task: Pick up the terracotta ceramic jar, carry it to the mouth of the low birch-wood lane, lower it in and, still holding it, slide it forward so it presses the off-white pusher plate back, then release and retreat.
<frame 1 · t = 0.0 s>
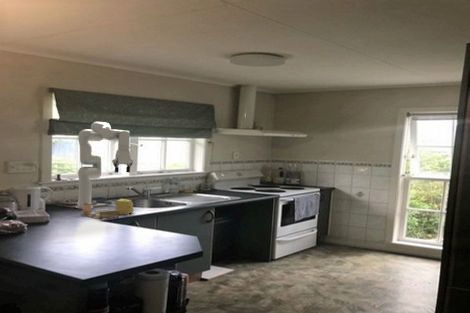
hand: (122, 172, 320), 31 cm above the worktop, fingers open, 9 cm apart
lane: (103, 216, 318), on the worktop
yellow rounded block: (124, 213, 335), on the worktop
jar: (87, 214, 321), on the worktop
pusher: (102, 212, 318), point 3 cm above the worktop, slide at 0.0 cm
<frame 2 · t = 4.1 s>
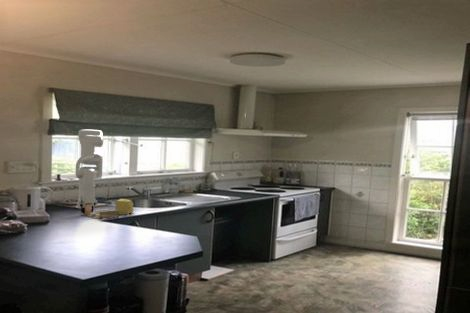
hand: (87, 212, 321), 2 cm above the worktop, fingers closed on jar, 6 cm apart
jar: (87, 214, 321), on the worktop, touching gripper
everything else where it was.
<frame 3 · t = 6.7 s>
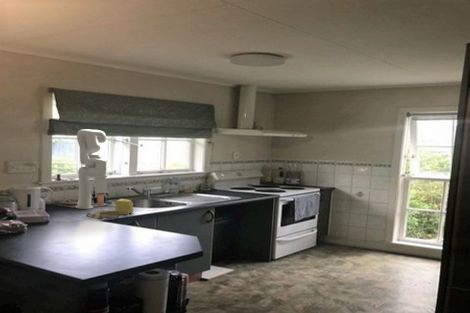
hand: (99, 202, 320), 9 cm above the worktop, fingers closed on jar, 6 cm apart
jar: (99, 204, 320), point 8 cm above the worktop, touching gripper
everything else where it was.
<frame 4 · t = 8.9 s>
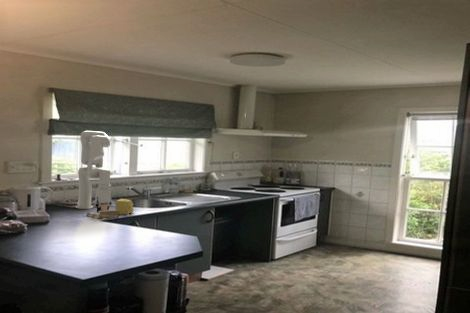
hand: (102, 212, 318), 3 cm above the worktop, fingers closed on jar, 6 cm apart
jar: (102, 214, 318), point 1 cm above the worktop, touching gripper
pusher: (105, 213, 316), point 3 cm above the worktop, slide at 3.4 cm
everything else where it was.
when the fingers open (3 cm above the worktop, at t = 9.7 s): jar drops 1 cm, resting in lane.
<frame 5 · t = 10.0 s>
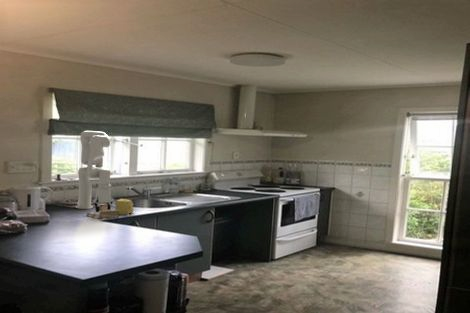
hand: (102, 211, 318), 4 cm above the worktop, fingers open, 8 cm apart
jar: (102, 216, 318), resting in lane
everything else where it was.
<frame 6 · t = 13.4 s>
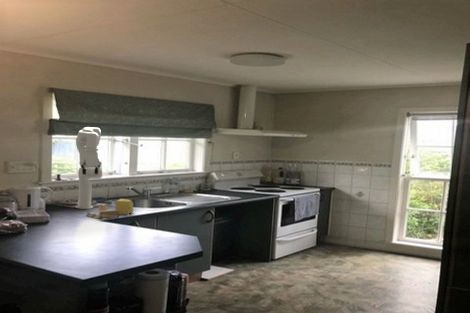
hand: (90, 174, 325), 28 cm above the worktop, fingers open, 9 cm apart
nothing on the worktop moved.
at the end: pusher slide at 3.7 cm; jar inside the target area (1.5 cm from its centre), resting in lane; jar tilted 0° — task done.
